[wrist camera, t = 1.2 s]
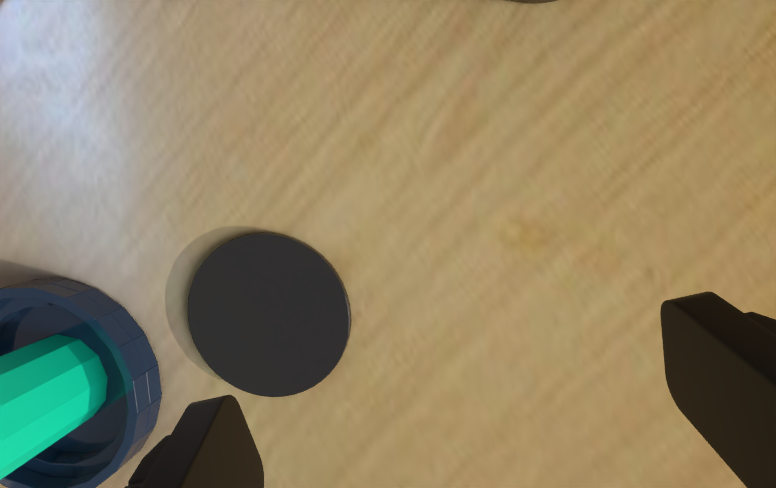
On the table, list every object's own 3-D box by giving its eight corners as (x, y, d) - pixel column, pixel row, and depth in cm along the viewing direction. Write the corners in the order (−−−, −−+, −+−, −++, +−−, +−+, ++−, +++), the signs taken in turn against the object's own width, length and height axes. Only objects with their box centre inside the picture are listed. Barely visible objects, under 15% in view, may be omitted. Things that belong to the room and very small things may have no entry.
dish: (-38, 280, 33) (-83, 290, 31) (150, 275, 31) (121, 285, 29) (-6, 468, 35) (-45, 494, 32) (174, 474, 33) (148, 502, 31)
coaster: (183, 235, 31) (178, 236, 30) (346, 229, 29) (344, 230, 29) (200, 393, 32) (196, 396, 32) (356, 394, 31) (354, 398, 30)
